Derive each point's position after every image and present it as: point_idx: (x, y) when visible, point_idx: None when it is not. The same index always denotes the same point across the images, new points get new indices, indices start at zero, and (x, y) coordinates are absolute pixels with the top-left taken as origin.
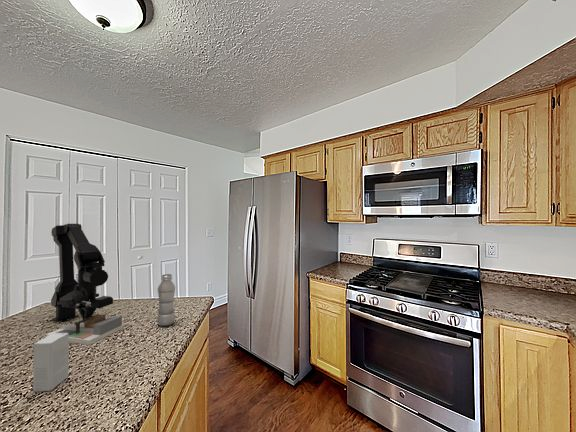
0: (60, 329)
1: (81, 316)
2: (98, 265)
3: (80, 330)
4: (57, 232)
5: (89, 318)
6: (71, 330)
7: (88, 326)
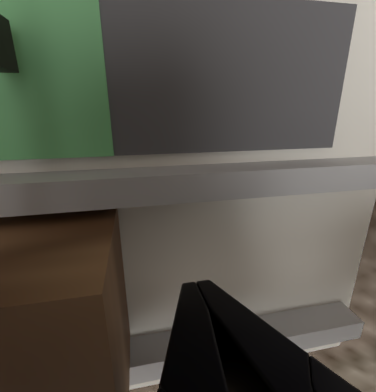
0: (374, 140)
1: (280, 335)
2: None
3: (127, 171)
4: None
5: (19, 349)
6: (237, 144)
7: (27, 231)
